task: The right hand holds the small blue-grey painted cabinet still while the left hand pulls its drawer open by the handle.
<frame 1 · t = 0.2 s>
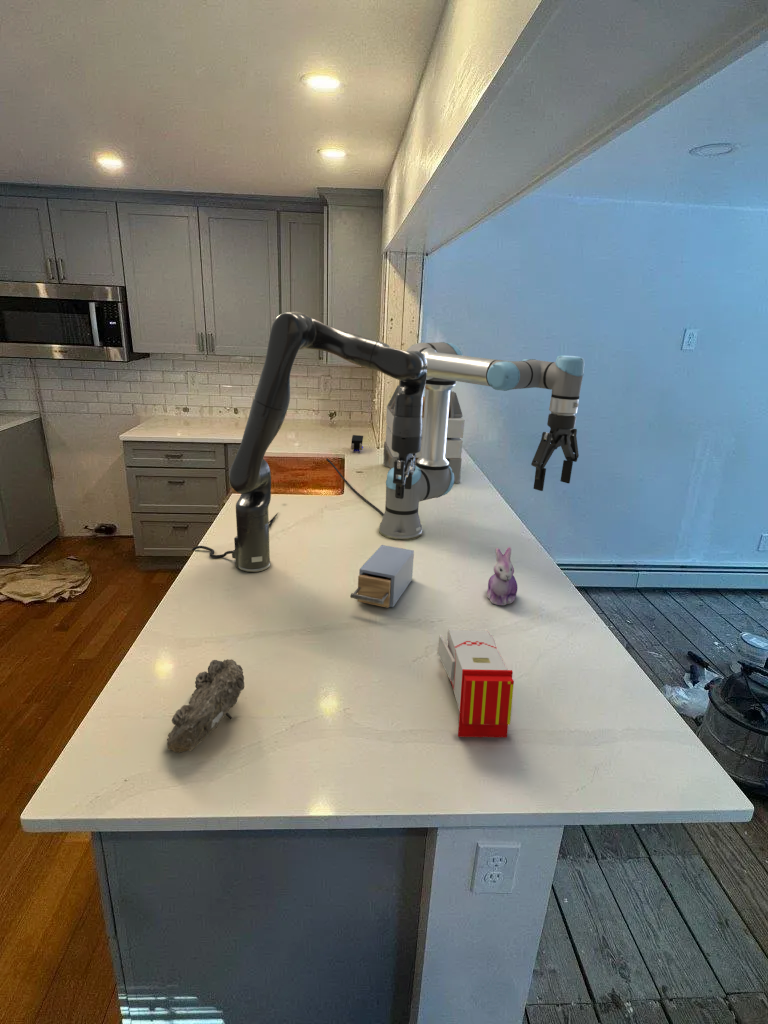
left hand: (403, 493, 149), 29 cm above the counter, tool pointing down, fingers open, 8 cm apart
right hand: (551, 486, 166), 28 cm above the counter, tool pointing down, fingers open, 13 cm apart
cabinet: (386, 589, 160), on the counter
figurine character: (357, 450, 312), on the counter
fossil: (212, 717, 108), on the counter
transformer: (419, 473, 275), on the counter
feather: (276, 516, 211), on the counter
figurine: (501, 598, 158), on the counter
toy: (469, 691, 119), on the counter
drawer: (380, 582, 154), point 5 cm above the counter, slide at 1.1 cm
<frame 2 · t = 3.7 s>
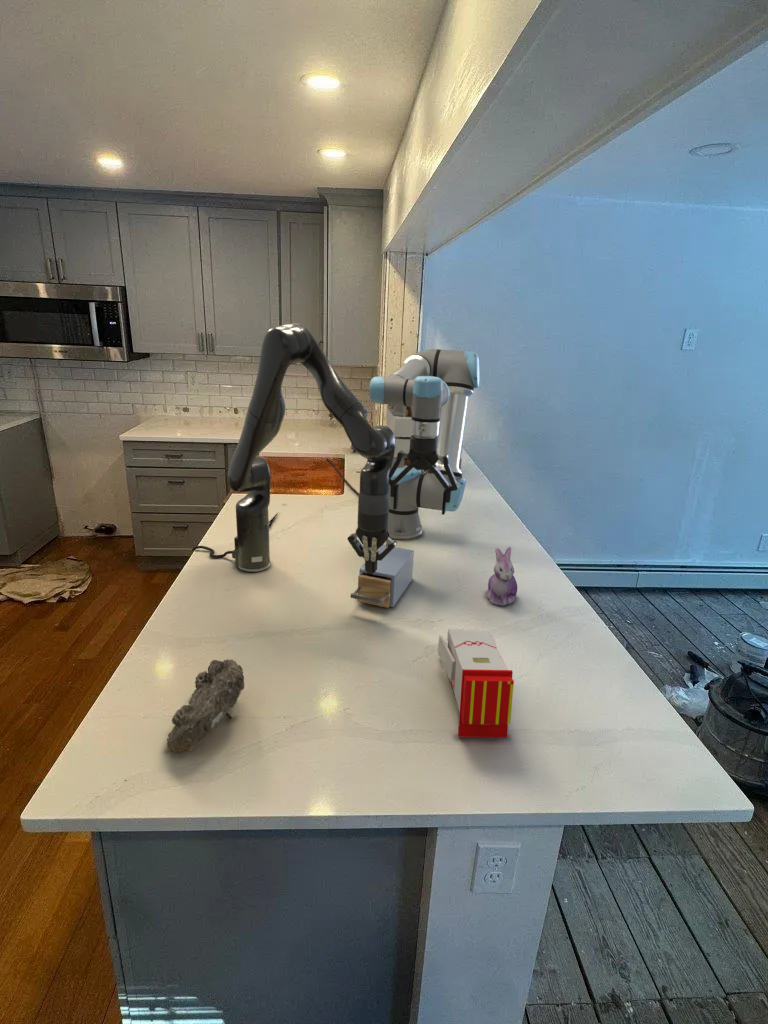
left hand: (370, 572, 144), 11 cm above the counter, tool pointing down, fingers closed
right hand: (419, 510, 159), 22 cm above the counter, tool pointing down, fingers open, 13 cm apart
nothing on the counter moved.
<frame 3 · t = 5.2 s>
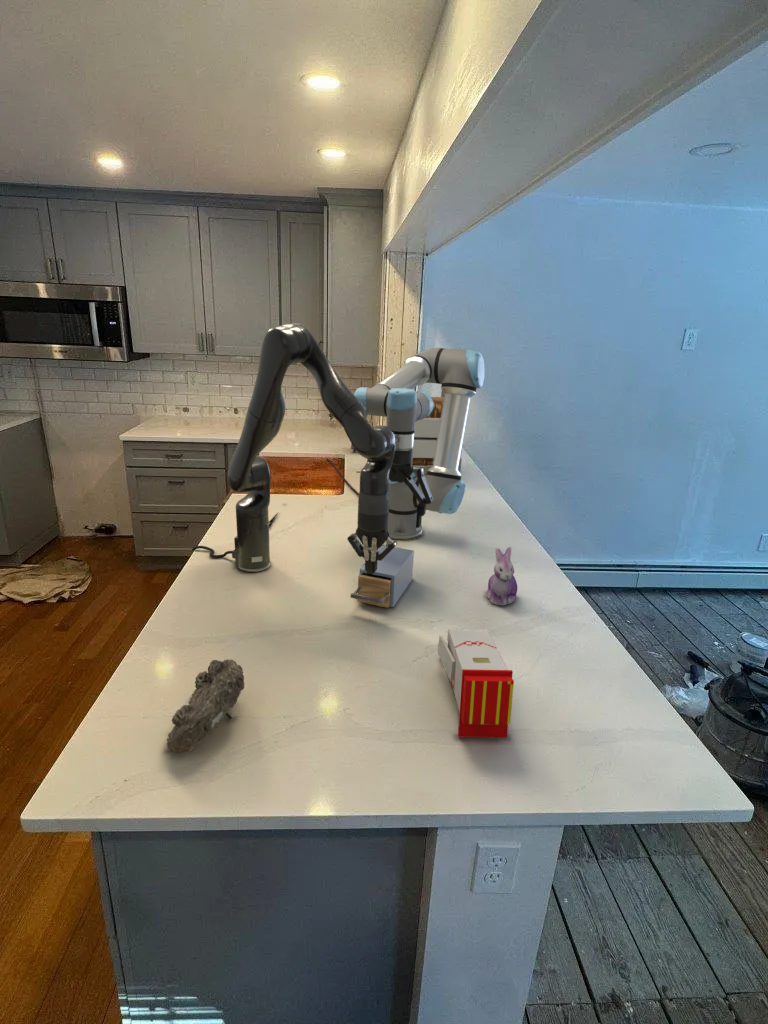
left hand: (370, 572, 144), 11 cm above the counter, tool pointing down, fingers closed
right hand: (395, 522, 158), 19 cm above the counter, tool pointing down, fingers open, 13 cm apart
nothing on the counter moved.
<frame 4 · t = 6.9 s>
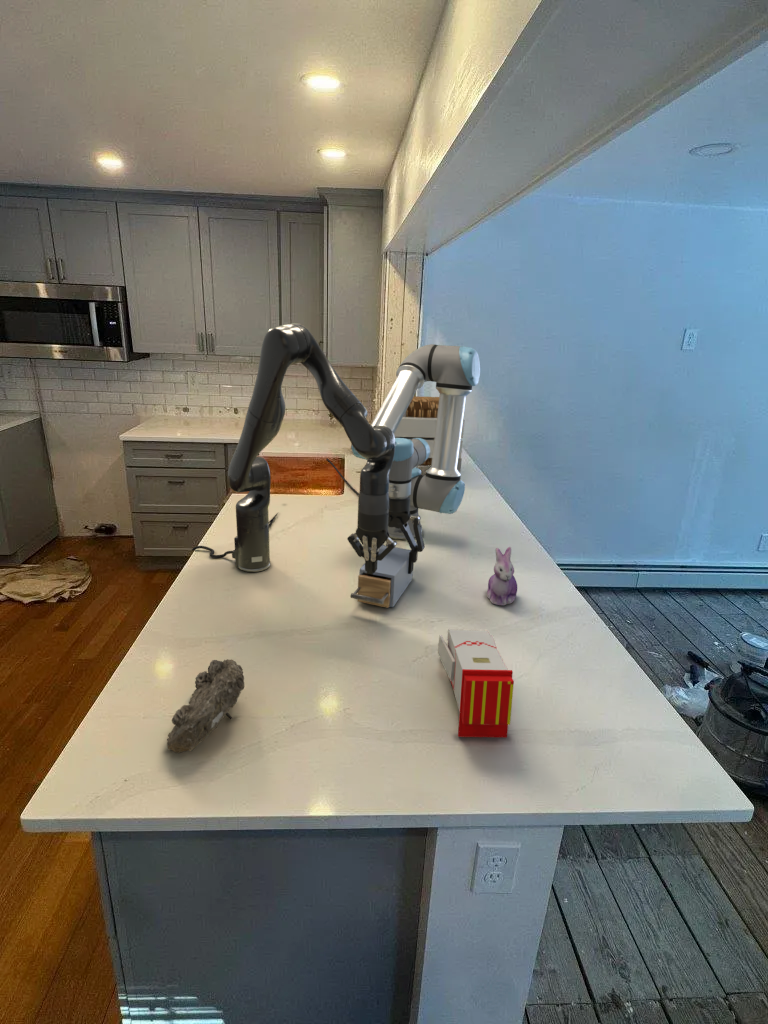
left hand: (370, 572, 144), 11 cm above the counter, tool pointing down, fingers closed
right hand: (392, 568, 163), 4 cm above the counter, tool pointing down, fingers closed on cabinet, 10 cm apart
cabinet: (386, 589, 160), on the counter, touching right hand
everything else where it was.
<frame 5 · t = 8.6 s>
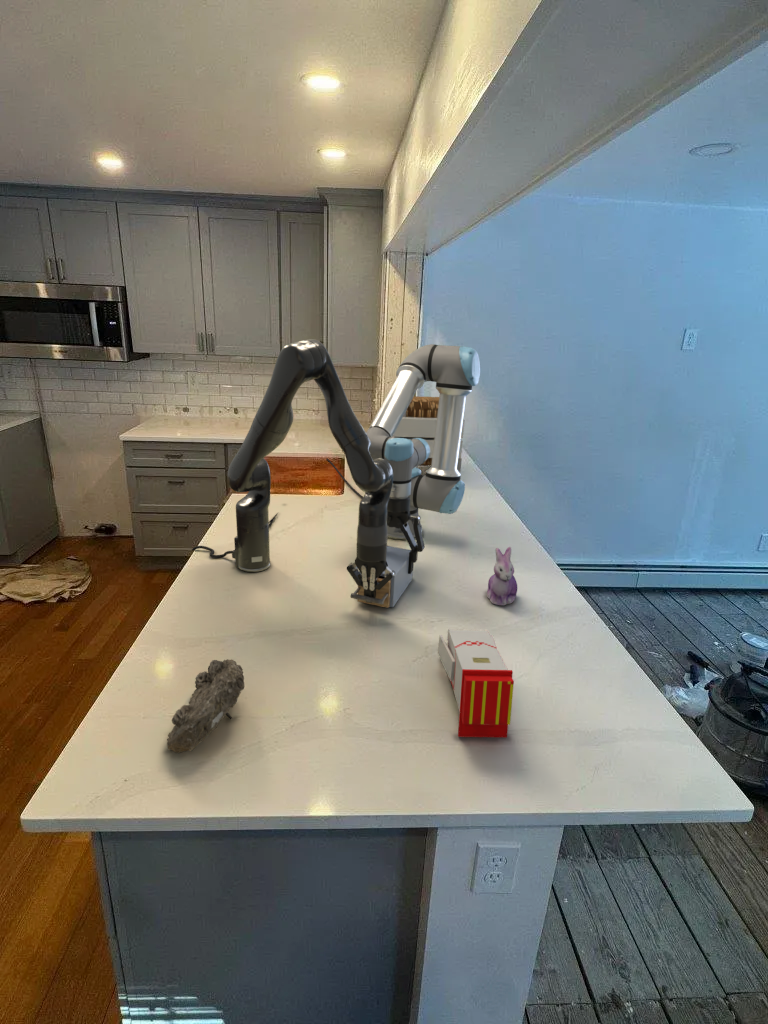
left hand: (369, 601, 146), 3 cm above the counter, tool pointing down, fingers closed
right hand: (392, 568, 163), 4 cm above the counter, tool pointing down, fingers closed on cabinet, 10 cm apart
cabinet: (386, 589, 160), on the counter, touching right hand
drawer: (380, 582, 154), point 5 cm above the counter, slide at 1.1 cm, touching left hand
everything else where it was.
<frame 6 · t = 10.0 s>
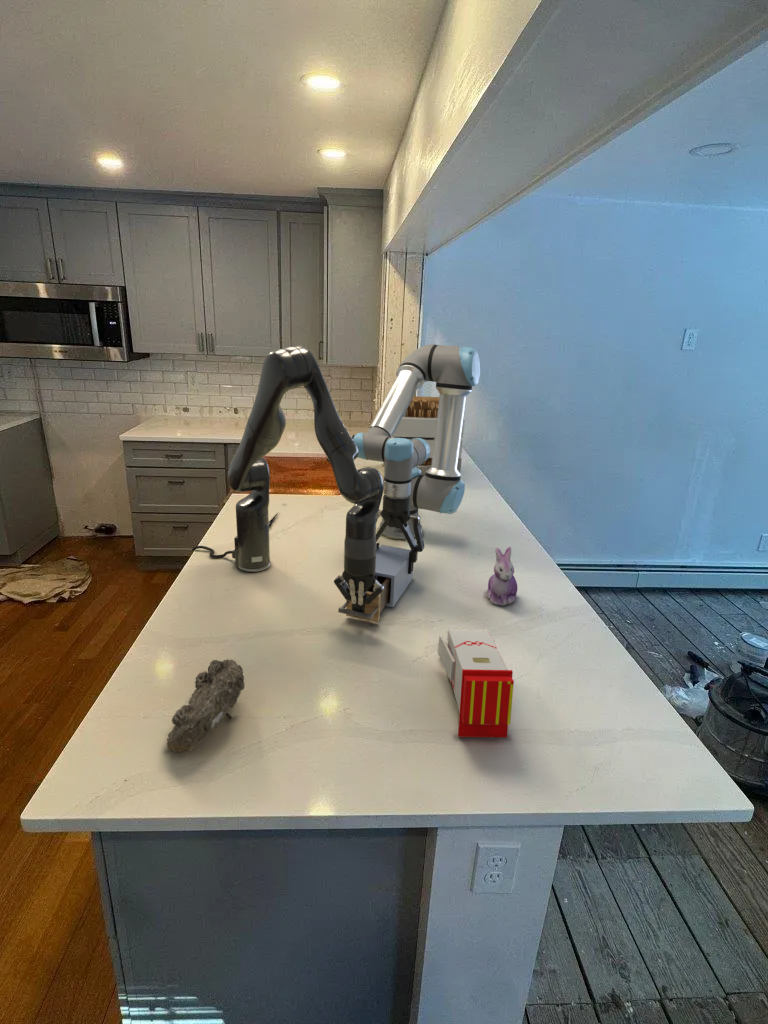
left hand: (358, 615, 139), 3 cm above the counter, tool pointing down, fingers closed
right hand: (392, 568, 163), 4 cm above the counter, tool pointing down, fingers closed on cabinet, 10 cm apart
cabinet: (386, 589, 160), on the counter, touching right hand
drawer: (370, 595, 146), point 5 cm above the counter, slide at 9.0 cm, touching left hand
everything else where it was.
when the right hand's fingers open (4 cm above the counter, at t = 11.6 s): cabinet stays where it is, on the counter.
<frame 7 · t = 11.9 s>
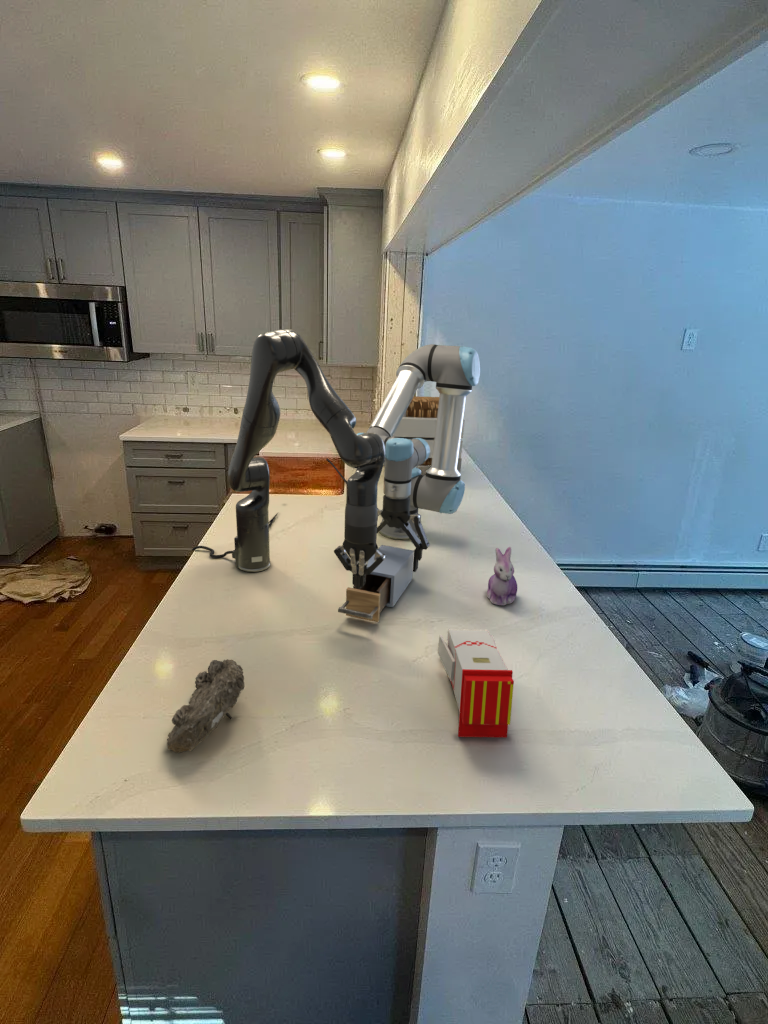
left hand: (358, 587, 137), 11 cm above the counter, tool pointing down, fingers closed
right hand: (393, 565, 163), 5 cm above the counter, tool pointing down, fingers open, 13 cm apart
cabinet: (386, 589, 160), on the counter
drawer: (370, 595, 147), point 5 cm above the counter, slide at 9.0 cm
everything else where it was.
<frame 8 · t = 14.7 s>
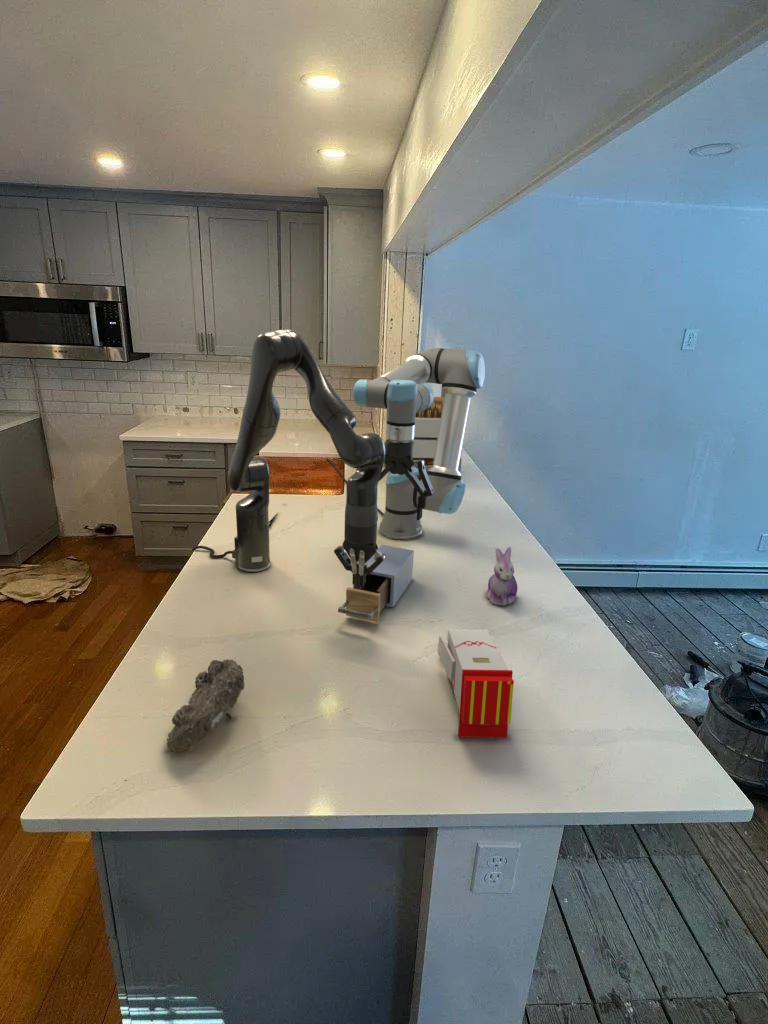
left hand: (358, 587, 137), 11 cm above the counter, tool pointing down, fingers closed
right hand: (395, 515, 158), 21 cm above the counter, tool pointing down, fingers open, 13 cm apart
nothing on the counter moved.
at the end: drawer slide at 9.0 cm; cabinet tilted 0°; cabinet never tilted more than 1° during the clip; cabinet moved 0.0 cm from its start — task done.
